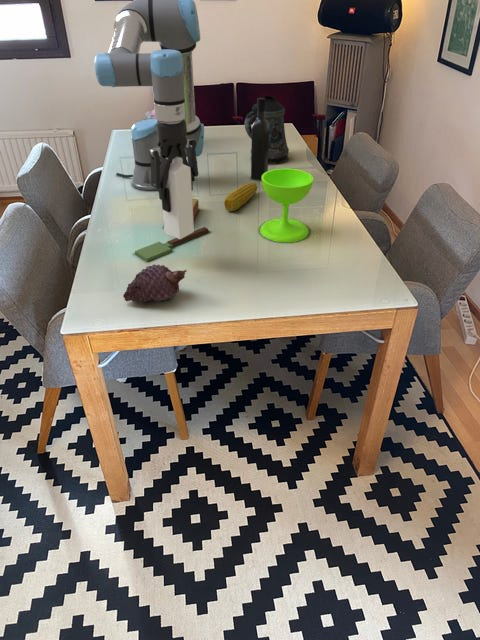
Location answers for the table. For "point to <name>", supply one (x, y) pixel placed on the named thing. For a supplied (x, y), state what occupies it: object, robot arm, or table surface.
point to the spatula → (166, 246)
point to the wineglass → (285, 203)
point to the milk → (179, 201)
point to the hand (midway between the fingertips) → (177, 206)
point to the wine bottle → (259, 142)
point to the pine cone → (154, 284)
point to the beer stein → (272, 129)
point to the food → (240, 196)
